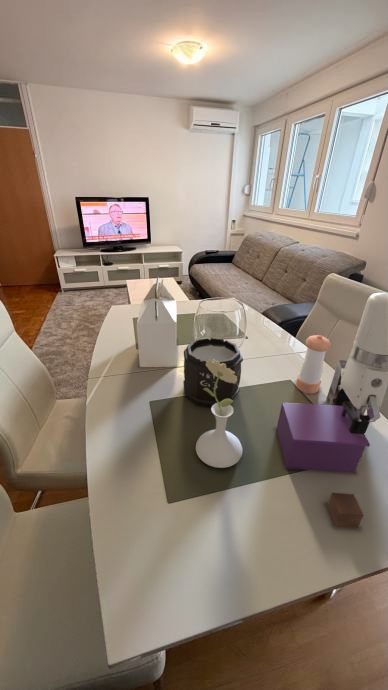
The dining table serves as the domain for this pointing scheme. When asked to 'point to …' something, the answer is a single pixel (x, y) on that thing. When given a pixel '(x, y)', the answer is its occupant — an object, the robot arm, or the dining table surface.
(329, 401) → the coffee box
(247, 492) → the dining table surface
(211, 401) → the black pot
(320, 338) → the pepper shaker
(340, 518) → the block
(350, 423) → the lid
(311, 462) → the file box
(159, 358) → the gable box
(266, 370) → the dining table surface
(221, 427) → the flower in vase
